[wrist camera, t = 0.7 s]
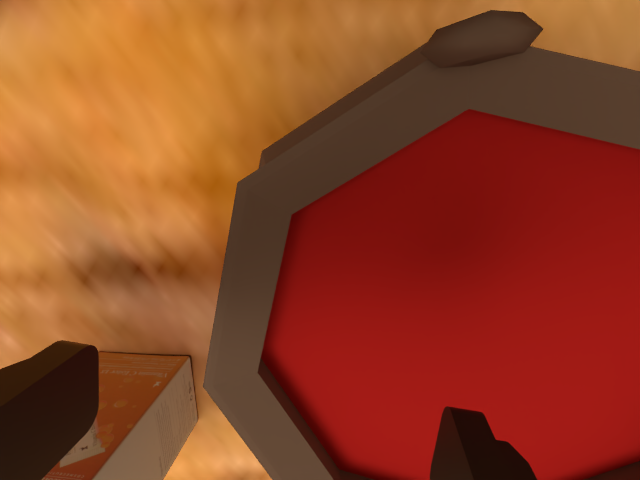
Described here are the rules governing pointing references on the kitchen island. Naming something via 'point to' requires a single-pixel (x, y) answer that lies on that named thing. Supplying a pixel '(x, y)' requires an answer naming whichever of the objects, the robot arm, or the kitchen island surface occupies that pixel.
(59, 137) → the kitchen island surface
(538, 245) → the brown cooking pot
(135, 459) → the small box
